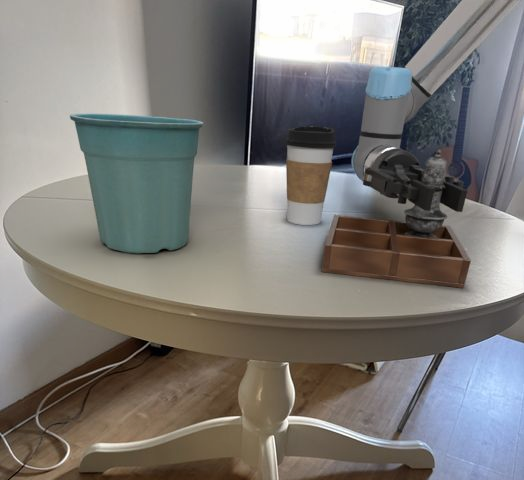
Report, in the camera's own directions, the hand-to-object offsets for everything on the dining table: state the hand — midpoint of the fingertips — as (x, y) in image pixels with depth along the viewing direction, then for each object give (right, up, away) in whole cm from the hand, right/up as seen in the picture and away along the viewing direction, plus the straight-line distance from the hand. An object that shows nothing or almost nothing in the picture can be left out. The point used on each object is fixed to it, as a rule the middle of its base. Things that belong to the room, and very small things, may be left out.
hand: (445, 200), depth 61 cm
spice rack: (-6, -6, +6) cm, 10 cm away
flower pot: (-40, -4, +7) cm, 41 cm away
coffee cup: (-16, +4, +23) cm, 29 cm away
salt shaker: (-1, -3, +8) cm, 9 cm away
